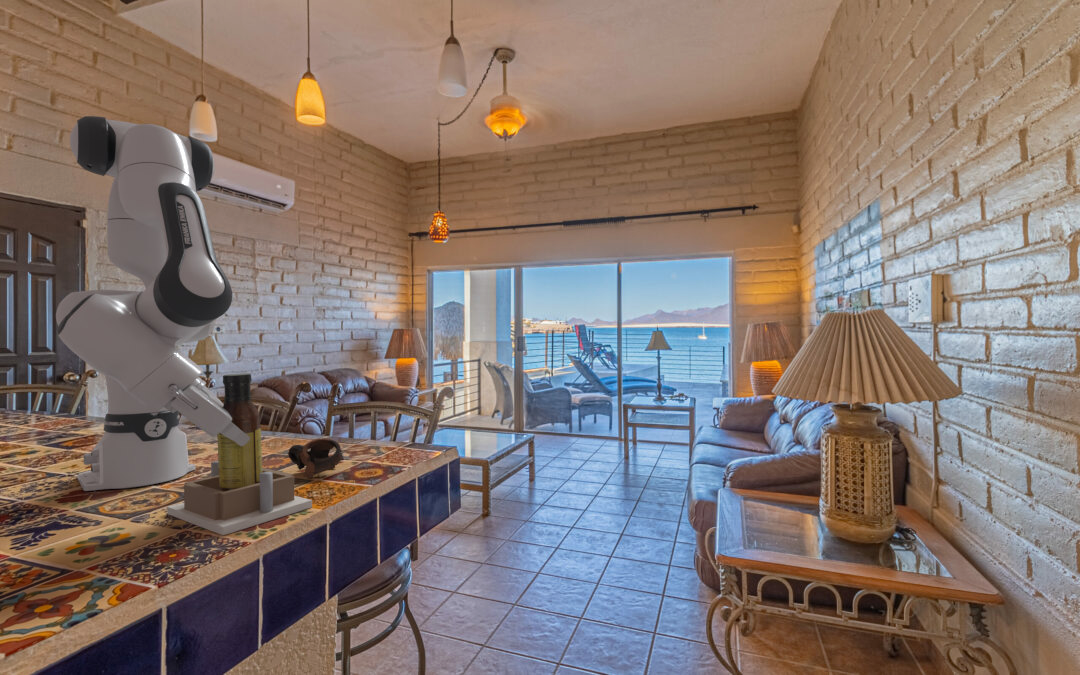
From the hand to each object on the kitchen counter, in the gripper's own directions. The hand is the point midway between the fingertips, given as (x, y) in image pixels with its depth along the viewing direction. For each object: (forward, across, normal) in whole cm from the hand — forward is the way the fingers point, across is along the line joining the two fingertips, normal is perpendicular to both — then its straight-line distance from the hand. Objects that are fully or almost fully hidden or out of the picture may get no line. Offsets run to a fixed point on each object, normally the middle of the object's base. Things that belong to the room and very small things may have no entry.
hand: (244, 438), depth 83 cm
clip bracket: (+8, 0, +9) cm, 12 cm away
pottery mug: (+19, +18, -2) cm, 26 cm away
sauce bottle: (+6, 0, +7) cm, 9 cm away
